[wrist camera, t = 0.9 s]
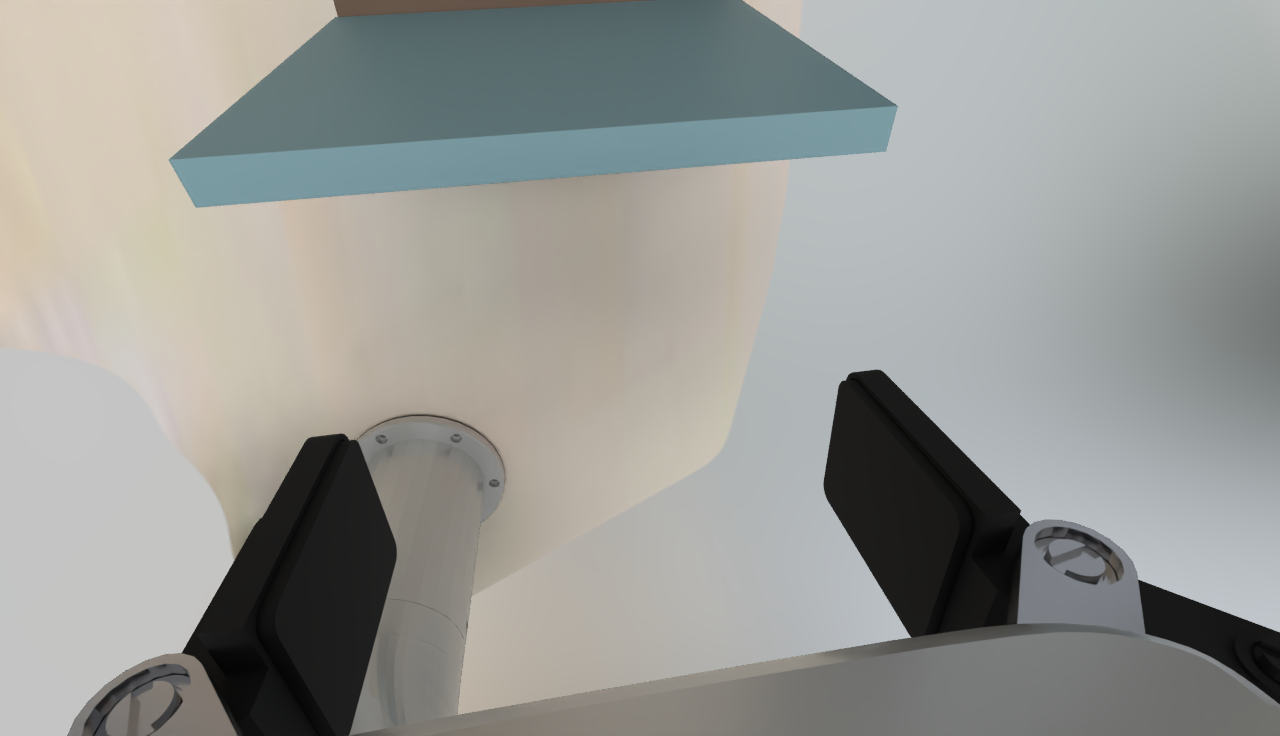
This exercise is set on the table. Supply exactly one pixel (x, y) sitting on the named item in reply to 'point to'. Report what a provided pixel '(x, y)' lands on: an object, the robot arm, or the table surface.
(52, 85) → the table surface
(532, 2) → the storage box
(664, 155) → the lid
